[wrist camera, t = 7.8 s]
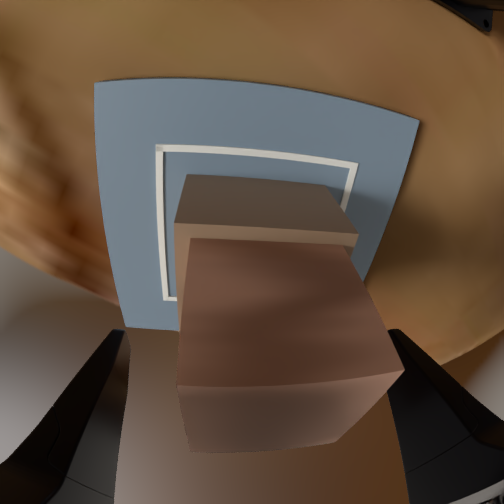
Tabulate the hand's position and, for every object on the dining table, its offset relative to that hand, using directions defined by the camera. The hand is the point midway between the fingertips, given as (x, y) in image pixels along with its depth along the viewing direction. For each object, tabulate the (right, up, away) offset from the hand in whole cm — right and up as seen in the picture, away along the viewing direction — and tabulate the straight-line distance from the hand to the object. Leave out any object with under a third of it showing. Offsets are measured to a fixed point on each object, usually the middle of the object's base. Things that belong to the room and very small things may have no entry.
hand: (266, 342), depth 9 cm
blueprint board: (-1, +4, +6) cm, 7 cm away
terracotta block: (0, +1, +2) cm, 2 cm away
